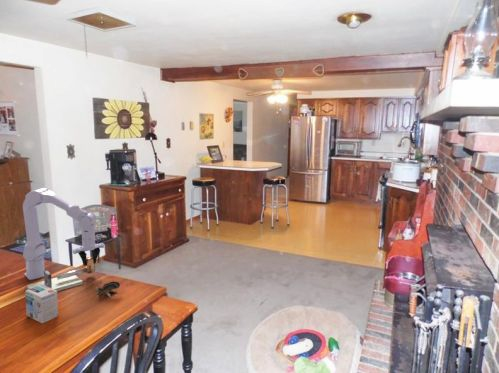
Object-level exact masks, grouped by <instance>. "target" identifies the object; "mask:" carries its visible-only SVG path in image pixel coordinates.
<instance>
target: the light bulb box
mask: <svg viewBox="0 0 499 373" xmlns="http://www.w3.org/2000/svg"><path fill="white" fill-rule="evenodd" d="M24 294H25V309H26V311H25V312H26V317H29V318H30V319H32V320H35V321H36V322H38V323H41V324H44V323H46V322H48V321H51V320H53V319H56V318H57V317H59V302H58V301H59V299H58V291H56V290H54V289H51V288H49V287H46V286H44V285H39V286H37V287H34V288H31V289H29V290H28V289H26V290H24Z"/></svg>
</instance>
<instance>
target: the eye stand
mask: <svg viewBox="0 0 499 373" xmlns="http://www.w3.org/2000/svg"><path fill="white" fill-rule="evenodd" d="M83 283H84V282H83V280H82V279H81V278H80V277H78V275H75V276H71V277H67V278H64V279H60V280H57V277H53V278H52V273H50V272H49V270H48V269H46V270H45V271H44V277H43V280H41V281H38V282H35V283H30V284H27V285H26V290H29V289H31V288H34V287H37V286H39V285H44V286H46V287H49V288H51V289H54V290H56V291H57V292H60V291H64V290H66V289H69V288H75V287H77V286H81V285H83Z"/></svg>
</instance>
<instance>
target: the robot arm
mask: <svg viewBox="0 0 499 373" xmlns="http://www.w3.org/2000/svg"><path fill="white" fill-rule="evenodd" d="M42 204H52V205H54V206H55V207H57V208H59V209H61V210H63V211H65V212H66V215H67V216H69V217H70V218H72V219H73V220H75V221H77V222H78V223H79V225H80V226H81V244H82V246H80V247H79V246H78V247H76V248H73V249H72V254H74V255H76V254H78V255H79V258H80V259H81V262H82V265H83V266H84V267H85V266H86V258H87V257H88V256H87V253H86V252H87V251H88V252H89V251H91V255H92V256H91V257H94V265H95V264H97V259H98V256H99V255H100V253H101V248H102V249H103V248H105V243H103V242H100V243H96V232H95V230H96V229H95V228H96V227H95V223H96V221H97V217H96V215H95V214H94V213H93V212H89V211H86V210H84V209H82V208H81V207H80V206H79V205H76V204H72V205H71V204H70V203H68V202H67V201H65V200H64V199H62V198H61V197H60V196H58V195H56V194H55V192H53V191H52V190H50V189H49V188H47V187H41V188H38V189H35V190H30V191H29V192H28V193H26V195H25V199H24V200H23V203H22V212H23V219H24V227H25V234H26V235H25V236H26V243H25V245H24V248H23V253H22V256H23V259H25V270H26V272H25V273H24V274H23V275H25V277H26V278H27V279H28V281H32V280H36V279H40V278H44V271H45V269H46V268H45V253H46V252H47V246H46V245H45V242H44V240H43V239H42V238H41V234H40V227H39V219H38V218H39V216H38V210H37V208H38V207H39V206H40V205H42Z"/></svg>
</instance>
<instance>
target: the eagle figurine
mask: <svg viewBox="0 0 499 373" xmlns="http://www.w3.org/2000/svg"><path fill="white" fill-rule="evenodd" d="M120 286H121V284H120V283H119V281H110V282H107V283H104V285H103V286H102V287H100V286H97V287H94V289H95V290H96V292H97V293H96V295H98V299H99V300H100V299H101V298H102V296H103V295H106V296H108V297H109V298H111V294H110V293H118V291H117V290H116V289H119V288H120Z"/></svg>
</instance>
